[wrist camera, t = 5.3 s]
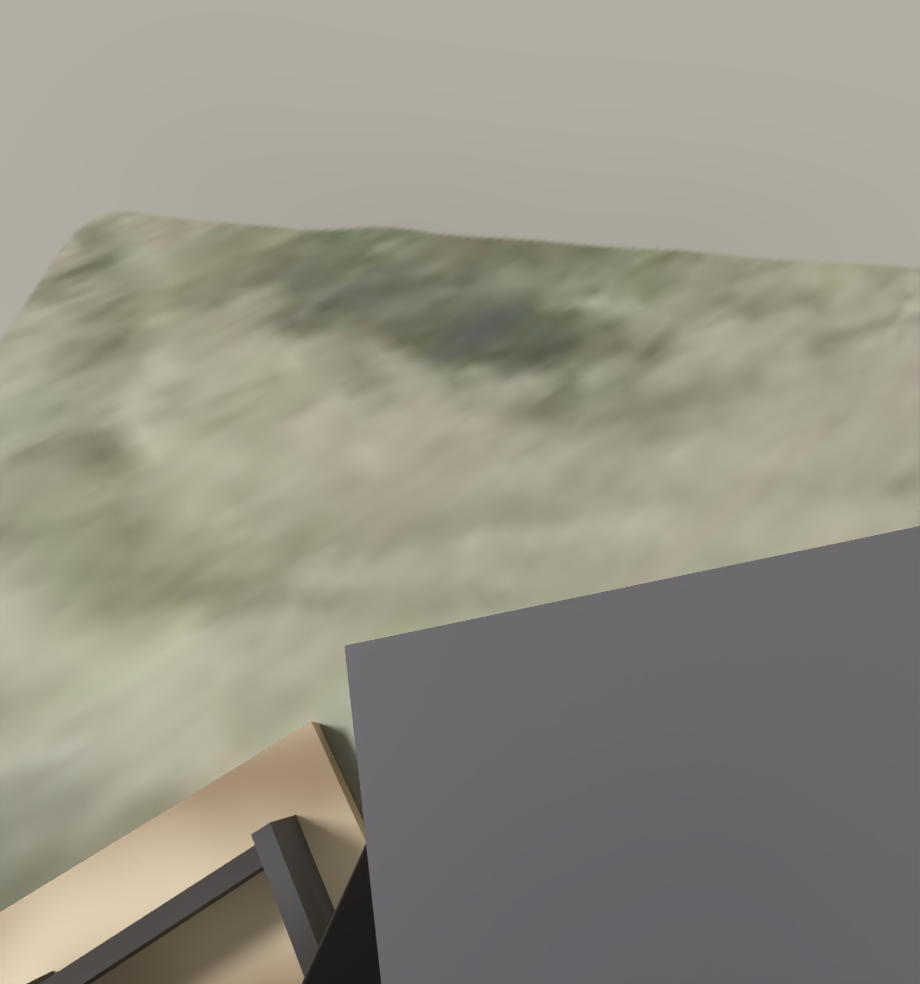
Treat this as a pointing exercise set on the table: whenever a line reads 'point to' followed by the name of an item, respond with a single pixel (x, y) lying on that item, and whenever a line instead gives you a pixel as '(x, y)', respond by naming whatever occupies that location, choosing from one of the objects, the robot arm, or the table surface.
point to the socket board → (203, 884)
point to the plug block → (654, 781)
